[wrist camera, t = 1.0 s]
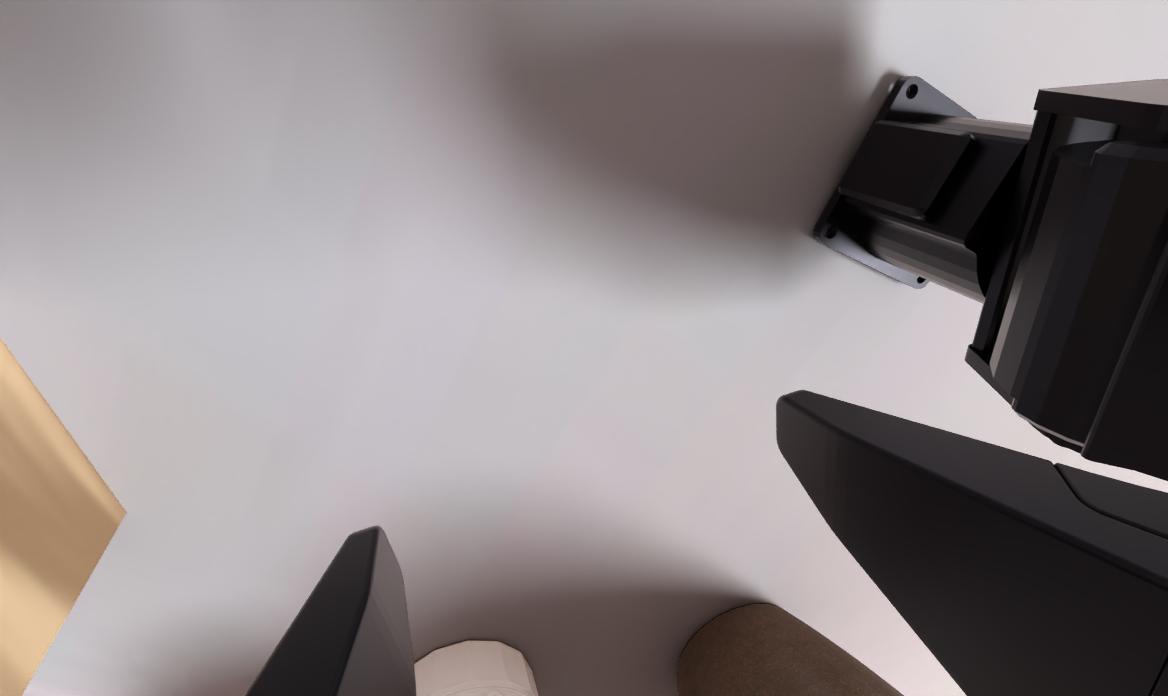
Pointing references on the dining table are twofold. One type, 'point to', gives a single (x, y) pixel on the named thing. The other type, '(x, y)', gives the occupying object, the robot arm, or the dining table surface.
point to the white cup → (474, 671)
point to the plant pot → (771, 659)
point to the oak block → (42, 524)
